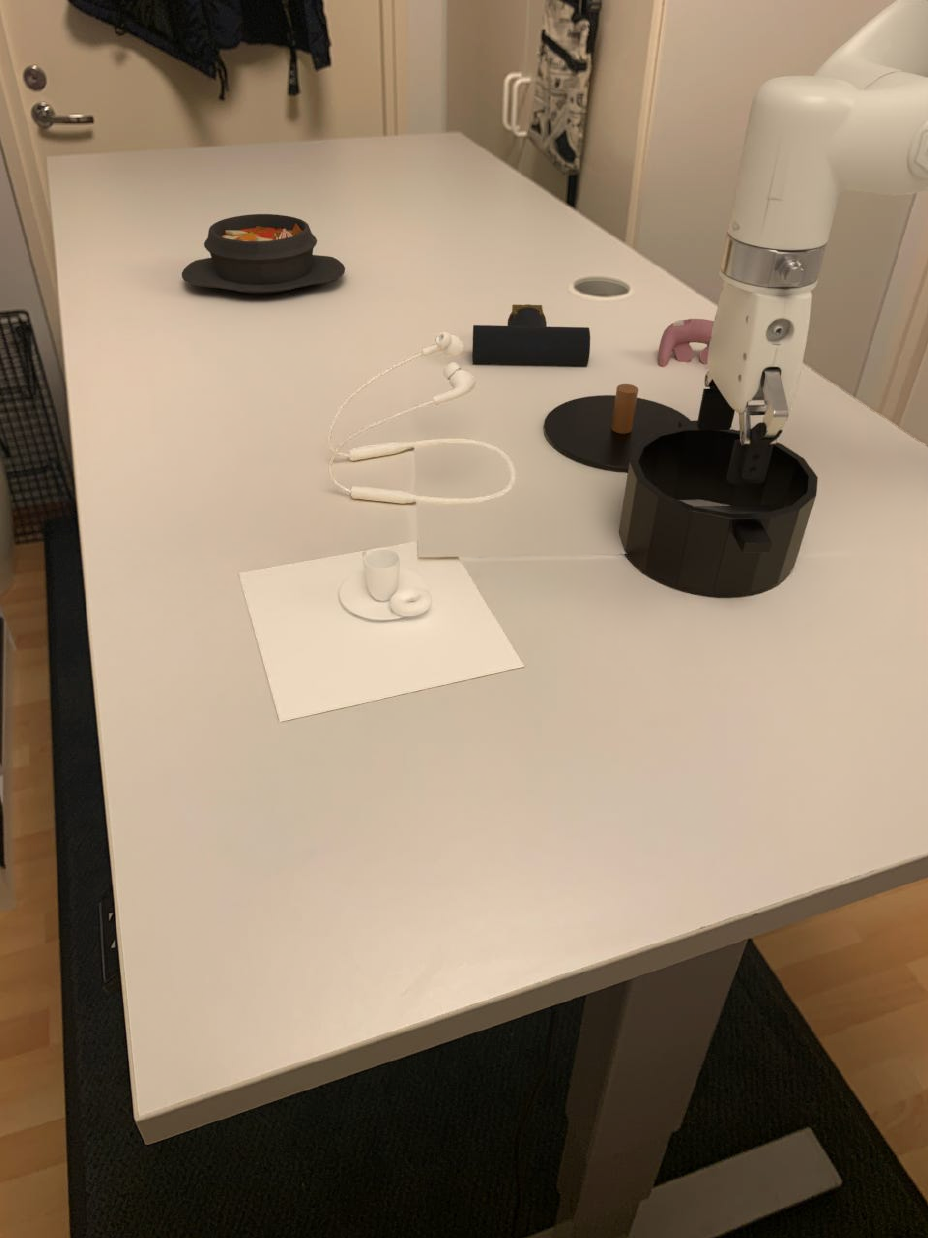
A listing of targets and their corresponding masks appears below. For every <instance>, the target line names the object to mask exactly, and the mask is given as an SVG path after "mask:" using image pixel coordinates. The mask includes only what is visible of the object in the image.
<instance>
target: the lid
mask: <svg viewBox="0 0 928 1238" xmlns="http://www.w3.org/2000/svg"><path fill="white" fill-rule="evenodd" d="M638 394H639V387H638V386H636V385H634V384H632V383H621V384H618V385H617V386H616V389H615V395H614V394H613V395H612V394H610V395H609V394H600V395H598V394H597V395H589V396H584V397H578V398H574V399H570V400H568V401H565V402H563V403H561V404H559V405H557V406H556V407H554V408H553V409H551V411H549V412H548V413H547V415H546V417H545V419H544V423H543V433H544V437H545V439H546V441H547V442H548V443H549V444H550V446H552V448H554V449H555V450H556V451H557V452H559V454H561V455H563V456H565V457H566V458H568V459H571V460H572V461H574V462H577V463H580V464H582V465H585V466H588V467H592V468H596V469H600V470H606V471H612V472H621V473H628V469H629V462H630V459H631V457H632V454H633V452H634V449H635V447H636V445H637V444H639V443H640V442H642V441H644V440H645V439H647V438H648V437H650V436H651V435H653V434H655V433H657V432H662V431H666V430H670V429H675V428H678V425H679V421H692V419H690V418H689V417H688V416H686V415H685V414H684V413H682V412H680V411H679V410H676V409H674V408H672V407H670V406H668V405H666V404H663V403H661V402H657V401H653V400H650V399H645V398H640V397H638Z"/></svg>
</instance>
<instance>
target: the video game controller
mask: <svg viewBox="0 0 928 1238" xmlns="http://www.w3.org/2000/svg"><path fill="white" fill-rule="evenodd" d="M713 325H714V320H710V319H704V318H703V319H702V318H688V319H680V320H676V321H674V322H672V323H670V324H669V325H668V326H667V327H666V328H665V329H664V331H663V333H662V335H661V339H660V342H659V348H658V360H657V363H658V366H659V367H661V368H666V366H667V365H668V364H669V361H670V359H671V356H672V352H673V353H674V355H675V359H676V360H677V361H678V362H683V363H687V362H690V361H692V358H693V356H694V350H693V348H692V346H691V345H690V344H691V343H692V344H693V343H698V344H703V345H704V344H705V345H706V346H705V347H704V348H703V349H702V350H700V351H701V352H700V354H699V362H700V363H702V364H703V365H707V360H708V351H709V345H710V339H711V334H712V329H713Z"/></svg>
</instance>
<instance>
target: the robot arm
mask: <svg viewBox="0 0 928 1238" xmlns="http://www.w3.org/2000/svg"><path fill="white" fill-rule="evenodd" d="M927 190H928V0H895V1H894V2H892V3H891V4H890V5H888V6H886V7H885V8H883V10H881V11H880V12H879V13H877V14H875V16H873V17H872V18H871V19H870V20H869V21H868V22H866V23H865V24H864V25H863V26H862V27H861V28H859V30H857V31H856V32H855V33H854V34H853V35H852V36H850V37H849V38H848V39H847V40H846V41H845V42H844V43H843V44H842V45H841V46H840V47H838V48H837V49H836V50H834V52H833V53H832V54H831V55H830V56H829V57H828V58H827V59H826V60H825V61H824V62H823V63H822V64H821V65H820V66H819V67H818V69H816V71H815V72H814V73H813V75H786V76H778V77H774V78H771V79H769V80H767V81H765V82H764V83H763V84H761V85H760V86H759V88H758V89H757V91H756V92H755V94H754V96H753V99H752V101H751V106H750V109H749V116H748V121H747V125H746V131H745V136H744V142H743V148H742V153H741V158H740V162H739V168H738V174H737V178H736V183H735V189H734V194H733V201H732V206H731V210H730V215H729V221H728V226H727V232H726V237H725V242H724V248H723V253H722V257H721V258H722V259H721V263H720V268H719V272H718V273H719V274H718V275H719V278H720V279H721V281H722V282H723V285H722V288H721V292H720V296H719V300H718V304H717V308H716V312H715V316H714V320H713V321H714V325H713V329H712V334H711V339H710V345H709V351H708V360H707V364H706V366H707V372H706V374H705V375H704V379H703V383H704V387H705V388H703V390H702V394H701V400H700V406H699V411H698V417H697V419H696V421H697V427H698V429H699V430H729V429H732V426H733V421H734V417H735V412H736V413H737V414H738V418H739V419H738V421H739V422H738V425H739V431H740V440H735V441H734V446H733V450H732V455H731V459H730V464H729V468H728V472H727V477H726V479H727V481H728V483H729V484H760V483H762V482H763V481H764V480H765V476H766V472H767V468H768V464H769V461H770V457H771V453H772V449H773V445H775V444H776V443H777V442H778V439H779V438H780V436H781V434H782V433H783V428H784V426H785V425H786V422H788V419H789V416H790V415H789V414H790V413H789V412H790V411H791V410H792V408H793V406H794V402H795V399H796V395H797V390H798V386H799V383H800V382H799V381H800V376H801V371H802V368H803V363H804V358H805V353H806V347H807V343H808V342H807V341H808V335H809V328H810V322H811V321H810V320H811V311H812V300H813V294H812V291H813V290H814V289H815V288H816V287H817V285H818V281H819V276H820V272H821V269H822V264H823V261H824V257H825V253H826V249H827V246H828V241H829V238H830V235H831V234H830V233H831V230H832V226H833V222H834V218H835V215H836V211H837V207H838V203H839V200H840V195H841V194H842V193H844V192H857V193H858V192H860V193H867V194H876V195H886V196H907V195H914V194H918V193H921V192H924V191H927ZM752 401H763V403H764V404H749V402H752ZM751 416H763V417H762V419H763V421H761V422H757V423H756V424H755V425H754V426H753V427H752V419H751Z"/></svg>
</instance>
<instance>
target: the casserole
mask: <svg viewBox="0 0 928 1238" xmlns="http://www.w3.org/2000/svg"><path fill="white" fill-rule="evenodd" d="M317 243H318V238H317V237H316V236H315V235H314V234H313V233H312V231H311V227H310V225H309V223H308V222H306V221H305V220H303V219H301V218H297V217H294V216H291V215H290V216H289V215H283V214H273V213H254V214H253V213H252V214H242V215H236V216H231V217H229V218H228V217H227V218H224V219H221V220H218V221H216V222H214V223H213V224H212V225H209V228H208V232H207V238H206V239H205V240H204V242H203V248H205V250H206V251H207V252H208V253H209V254H210V255H209V256H210V257H206V258H201V259H197V260H194V261H192V262H190V263H189V264H187V265H186V266H185V267H184V268H183V269H182V272H181V278H182V279H183V281H184V282H185V283H187V284H188V285H191V286H194V287H199V288H207V289H208V288H209V289H221V290H228V291H234V292H238V293H243V294H249V295H275V294H281V293H285V292H290V291H293V290H295V288H296V289H298V288H304V287H308V286H314V285H322V284H327V283H333V282H335V281H337V280H338V279H340V278H342V277H343V276H344V274H345V273H346V267H345V264H343V263H342V262H341V261H340V260H339V259H337V258H335V257H333V256H329V255H317V254H314V248H315V247H316V246H317ZM292 289H293V290H292ZM274 293H275V294H274Z"/></svg>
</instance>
